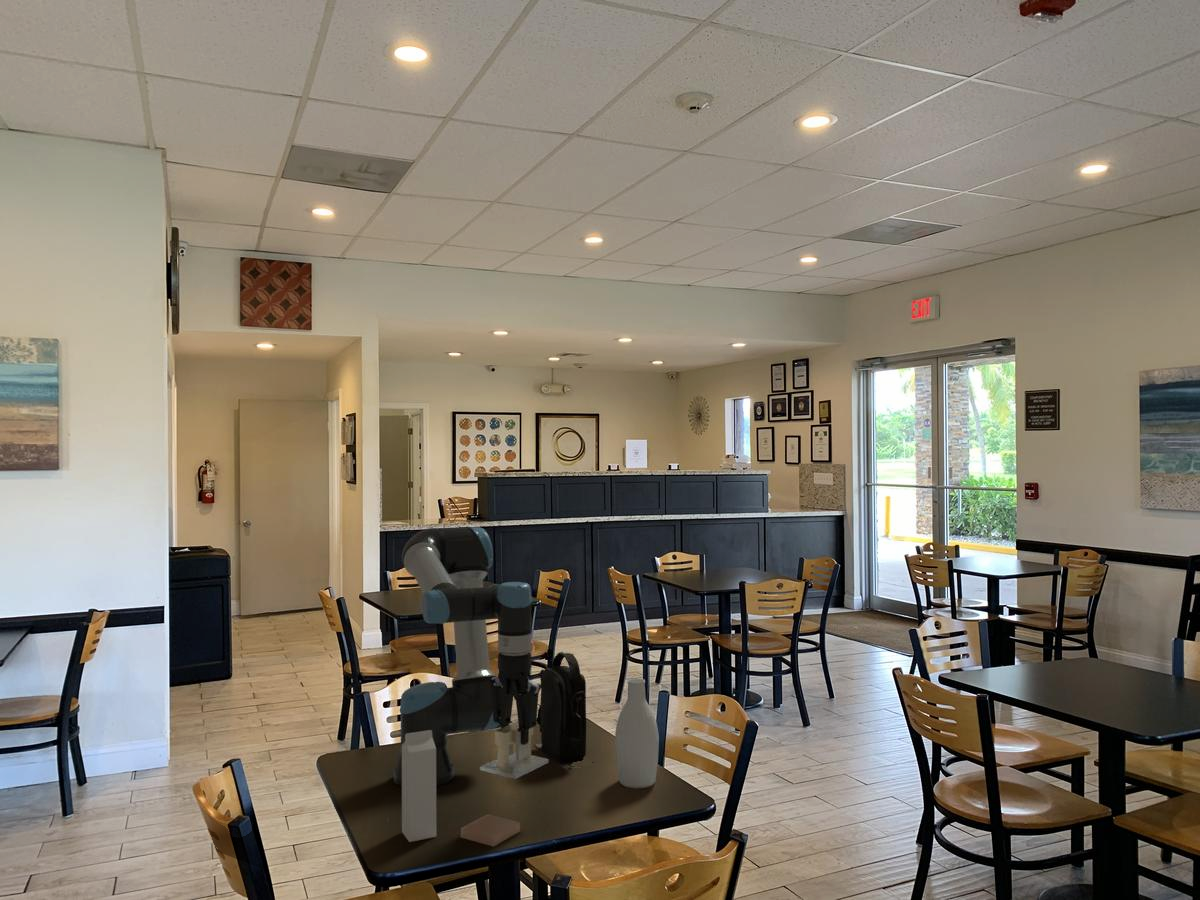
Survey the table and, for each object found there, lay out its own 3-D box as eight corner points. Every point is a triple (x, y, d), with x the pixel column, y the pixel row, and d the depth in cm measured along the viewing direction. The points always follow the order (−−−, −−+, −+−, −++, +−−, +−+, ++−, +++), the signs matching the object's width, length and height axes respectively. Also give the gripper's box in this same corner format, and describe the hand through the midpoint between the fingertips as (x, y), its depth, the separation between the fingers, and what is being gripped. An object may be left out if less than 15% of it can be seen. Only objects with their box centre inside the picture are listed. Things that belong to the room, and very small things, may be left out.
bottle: (662, 776, 223) (661, 676, 224) (655, 791, 212) (654, 686, 213) (620, 773, 226) (619, 674, 226) (610, 788, 215) (609, 684, 215)
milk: (401, 832, 190) (400, 730, 190) (429, 827, 192) (428, 726, 193) (409, 842, 184) (408, 737, 185) (437, 836, 187) (436, 733, 188)
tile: (487, 824, 194) (460, 839, 187) (487, 814, 194) (460, 828, 187) (520, 833, 190) (493, 848, 182) (519, 822, 190) (493, 837, 182)
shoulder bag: (596, 764, 233) (595, 659, 233) (565, 769, 229) (564, 662, 229) (564, 741, 253) (563, 644, 254) (534, 745, 249) (533, 647, 250)
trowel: (513, 754, 204) (513, 715, 204) (548, 762, 198) (548, 722, 199) (480, 770, 194) (479, 729, 194) (515, 778, 188) (515, 737, 188)
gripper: (476, 650, 198) (476, 754, 197) (532, 659, 189) (533, 768, 189) (497, 644, 204) (497, 745, 204) (553, 653, 195) (553, 758, 195)
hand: (514, 756), depth 196 cm, fingers closed on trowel, 3 cm apart
